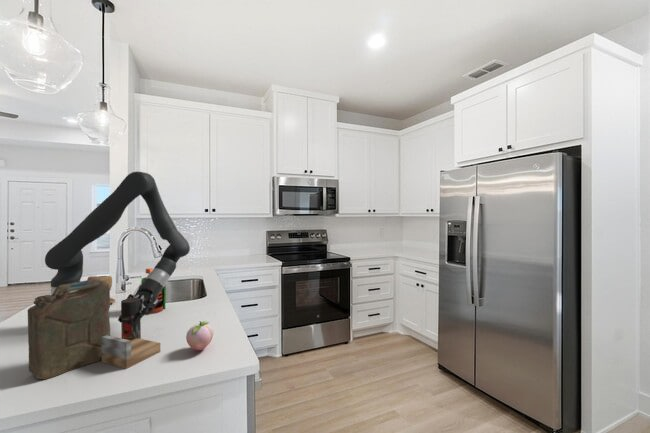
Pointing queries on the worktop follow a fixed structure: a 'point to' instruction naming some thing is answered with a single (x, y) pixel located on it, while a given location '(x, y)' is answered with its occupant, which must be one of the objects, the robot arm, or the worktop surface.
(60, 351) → the canister
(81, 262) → the robot arm
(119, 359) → the step
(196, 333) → the decorative fruit
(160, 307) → the motor
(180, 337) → the worktop surface
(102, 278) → the stone cup
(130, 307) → the deodorant
